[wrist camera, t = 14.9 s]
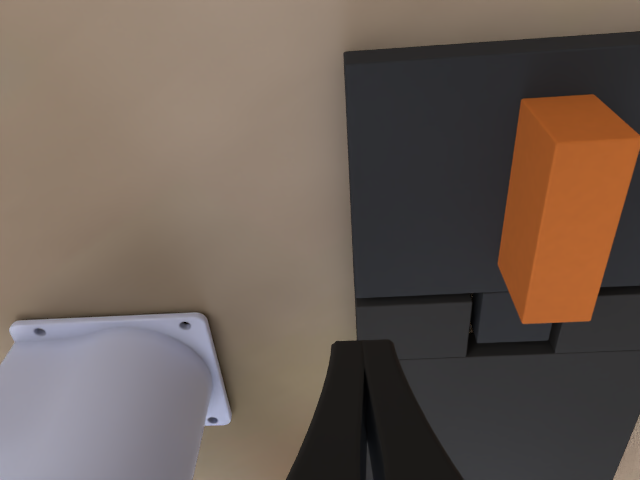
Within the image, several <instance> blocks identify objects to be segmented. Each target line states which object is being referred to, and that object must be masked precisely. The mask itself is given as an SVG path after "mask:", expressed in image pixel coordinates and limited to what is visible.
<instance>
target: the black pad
mask: <svg viewBox="0 0 640 480" xmlns="http://www.w3.org/2000/svg"><path fill="white" fill-rule="evenodd" d="M355 307H356V329H357V340H381V339H389V340H391V341H392V342H393V343H394V346H395V350H396V353H397V356H398V359H399V362H400V364H401V367H402V369H403V372H404V374H405V377H406V379H407V381H408V383H409V385H410V388H411V390H412V392H413V394H414V396H415V398H416V400H417V402H418V404H419V406H420V407H421V409H422V411H423V413H424V415H425V417H426V419H427V421H428V422H429V424H430V426H431V428H432V429H433V431H434V433H435V435H436V436H437V438H438V440H439V441H440V443H441V445H442V446H443V448H444V449H445V451H446V453H447V454H448V456H449V457H450V459H451V461H452V462H453V464H454V465H455V467H456V468H457V470H458V471H459V473H460V474H461V476H462V477H463V478H464V480H613V478H614V475H615V473H616V471H617V468H618V466H619V463H620V461H621V458H622V456H623V454H624V451H625V449H626V446H627V444H628V441H629V439H630V436H631V434H632V432H633V429H634V427H635V424H636V422H637V419H638V417H639V415H640V285H638V286H616V287H600V290H599V293H598V297H597V300H596V304H595V307H594V311H593V314H592V318H591V320H590V321H583V322H559V323H552V326H551V331H550V335H549V339H548V340H544V341H519V342H495V343H477V342H476V338H475V335H474V334H469V328H470V319H471V311H472V299H471V296H470V293H461V294H439V295H416V296H394V297H372V298H356V297H355ZM366 480H373V475H372V469H371V462H370V456H369V449H368V443H367V465H366Z"/></svg>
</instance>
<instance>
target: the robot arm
mask: <svg viewBox="0 0 640 480" xmlns="http://www.w3.org/2000/svg"><path fill="white" fill-rule="evenodd" d="M183 322H188V323H189V324H185V323H183ZM40 328H41V329H40ZM42 329H43V330H42ZM9 331H10V334H11V336H12V338H13V339H14V341H15V343H14V344H13V346H12V348H11V349H10V351H9V352H8V354H7V355H6V357H5V358H4V360H3V361H2V363H1V365H0V480H193V476H194V471H195V467H196V462H197V457H198V453H199V448H200V444H201V439H202V435H203V430H204V426H211V425H226V424H228V423H230V422H231V417H232V413H231V409H230V405H229V401H228V397H227V393H226V390H225V386H224V382H223V378H222V374H221V370H220V366H219V362H218V358H217V354H216V351H215V347H214V343H213V339H212V335H211V331H210V327H209V323H208V320H207V318H206V316H204V315H203V314H201V313H196V312H192V313H170V314H148V315H126V316H104V317H82V318H60V319H38V320H18V321H15V322H14V323H13V324H12V325H11V327H10V329H9ZM367 443H368V449H369V456H370V462H371V469H372V475H373V480H464V478H463V477H462V476H461V474H460V473H459V471H458V470H457V468H456V467H455V465H454V464H453V462H452V461H451V459H450V457H449V456H448V454H447V453H446V451H445V449H444V448H443V446H442V445H441V443H440V441H439V440H438V438H437V436H436V435H435V433H434V431H433V429H432V428H431V426H430V424H429V422H428V421H427V419H426V417H425V415H424V413H423V411H422V409H421V407H420V406H419V404H418V402H417V400H416V398H415V396H414V394H413V392H412V390H411V388H410V385H409V383H408V381H407V379H406V377H405V374H404V372H403V369H402V367H401V364H400V362H399V359H398V356H397V353H396V350H395V346H394V343H393V342H392V341H391V340H389V339H381V340H357V341H336V342H335V343H334V344H332V346H331V356H330V361H329V366H328V371H327V375H326V379H325V382H324V386H323V389H322V392H321V395H320V398H319V401H318V404H317V407H316V410H315V413H314V416H313V419H312V421H311V424H310V426H309V429H308V431H307V434H306V436H305V439H304V441H303V443H302V446H301V448H300V451H299V453H298V455H297V457H296V460H295V462H294V464H293V466H292V468H291V470H290V472H289V474H288V476H287V478H286V480H366V465H367Z"/></svg>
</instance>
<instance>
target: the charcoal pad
mask: <svg viewBox="0 0 640 480" xmlns="http://www.w3.org/2000/svg"><path fill="white" fill-rule="evenodd" d="M344 74H345V96H346V117H347V139H348V160H349V182H350V203H351V225H352V247H353V268H354V287H355V297H356V298H372V297H394V296H416V295H439V294H461V293H473V300H472V311H471V319H470V322H471V325H472V329H473V332H474V335H475V338H476V342H477V343H495V342H519V341H544V340H548V339H549V335H550V331H551V326H552V323H559V322H583V321H590V320H591V318H592V314H593V311H594V307H595V304H596V300H597V297H598V293H599V290H600V287H616V286H638V285H640V31H639V32H625V33H610V34H596V35H581V36H567V37H552V38H538V39H523V40H509V41H494V42H479V43H465V44H450V45H436V46H421V47H407V48H392V49H378V50H363V51H349V52H344Z"/></svg>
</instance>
